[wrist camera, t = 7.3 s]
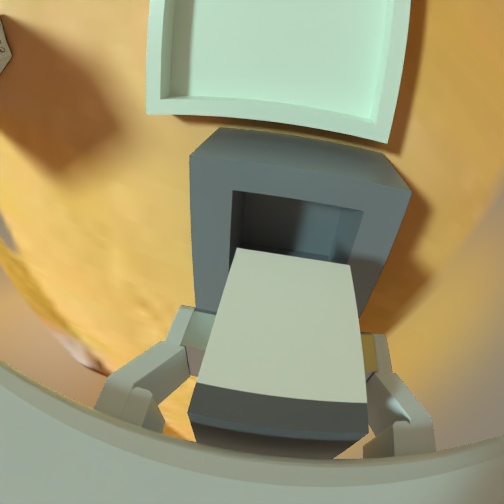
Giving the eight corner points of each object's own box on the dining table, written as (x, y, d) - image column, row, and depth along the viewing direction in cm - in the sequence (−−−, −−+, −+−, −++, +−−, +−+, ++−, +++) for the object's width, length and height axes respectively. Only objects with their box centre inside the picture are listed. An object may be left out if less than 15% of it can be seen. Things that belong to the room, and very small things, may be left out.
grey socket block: (219, 127, 15) (184, 160, 10) (382, 153, 14) (417, 198, 10) (216, 321, 25) (200, 376, 20) (320, 336, 24) (320, 394, 20)
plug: (236, 247, 10) (187, 412, 5) (349, 265, 10) (368, 432, 5) (232, 321, 13) (200, 452, 8) (322, 334, 12) (319, 467, 8)
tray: (175, -73, 7) (162, -83, 6) (401, -54, 6) (412, -64, 5) (160, 108, 15) (146, 114, 13) (378, 134, 14) (387, 143, 12)
